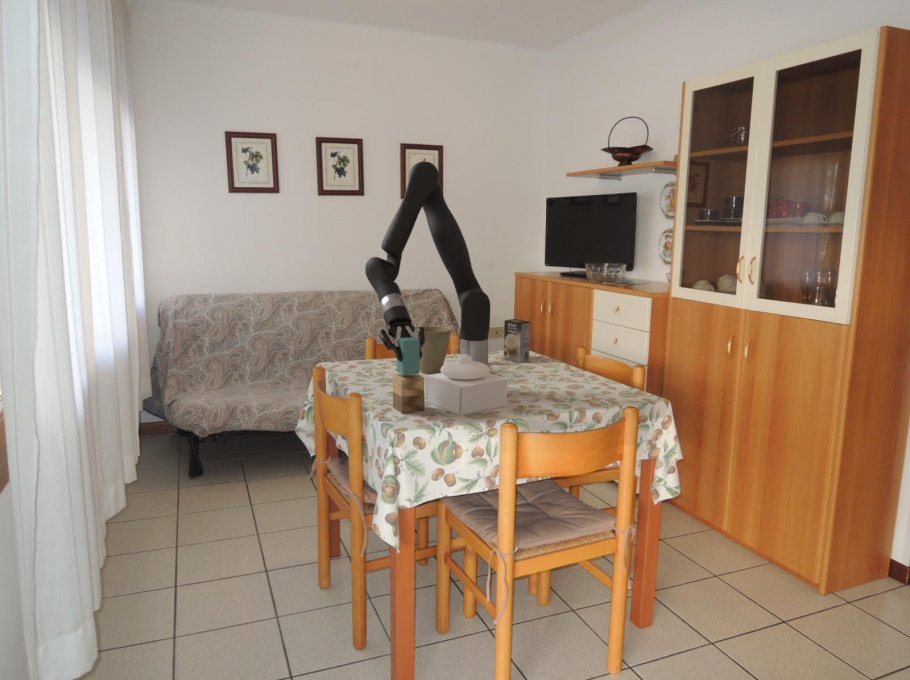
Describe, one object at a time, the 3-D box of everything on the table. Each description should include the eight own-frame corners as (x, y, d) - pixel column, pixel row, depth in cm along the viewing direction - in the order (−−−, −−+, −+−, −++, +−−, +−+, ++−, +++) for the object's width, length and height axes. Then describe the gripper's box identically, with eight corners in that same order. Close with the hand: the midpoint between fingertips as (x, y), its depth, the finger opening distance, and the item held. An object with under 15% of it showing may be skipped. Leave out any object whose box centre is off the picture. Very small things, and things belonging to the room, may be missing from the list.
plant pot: (452, 368, 253) (452, 326, 250) (448, 377, 238) (448, 332, 235) (413, 366, 254) (413, 325, 251) (406, 375, 239) (406, 331, 237)
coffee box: (502, 359, 270) (503, 319, 267) (513, 357, 274) (514, 318, 271) (519, 363, 263) (520, 322, 260) (530, 360, 267) (531, 321, 265)
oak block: (414, 388, 201) (414, 372, 200) (424, 394, 195) (424, 377, 194) (392, 391, 198) (392, 374, 197) (401, 396, 191) (401, 379, 191)
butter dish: (471, 395, 214) (471, 346, 212) (507, 407, 200) (509, 355, 197) (425, 403, 204) (425, 351, 201) (460, 417, 190) (461, 362, 187)
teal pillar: (412, 370, 198) (412, 336, 197) (419, 373, 194) (419, 339, 192) (396, 371, 196) (396, 337, 194) (403, 375, 192) (403, 340, 190)
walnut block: (414, 405, 202) (414, 389, 201) (424, 411, 195) (424, 394, 195) (392, 407, 198) (392, 391, 198) (402, 413, 192) (402, 396, 191)
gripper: (375, 305, 195) (390, 353, 187) (420, 303, 201) (437, 349, 193) (369, 321, 201) (383, 368, 192) (413, 318, 207) (429, 364, 199)
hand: (410, 358), depth 193 cm, fingers closed on teal pillar, 5 cm apart
